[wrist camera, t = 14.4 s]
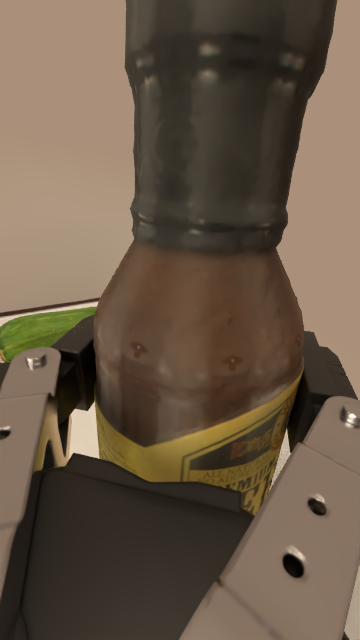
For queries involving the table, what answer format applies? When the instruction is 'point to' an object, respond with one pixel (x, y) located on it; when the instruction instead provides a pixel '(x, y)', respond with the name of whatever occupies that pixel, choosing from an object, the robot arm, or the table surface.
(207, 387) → the sauce bottle
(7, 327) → the vegetable
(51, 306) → the table surface
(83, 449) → the table surface
